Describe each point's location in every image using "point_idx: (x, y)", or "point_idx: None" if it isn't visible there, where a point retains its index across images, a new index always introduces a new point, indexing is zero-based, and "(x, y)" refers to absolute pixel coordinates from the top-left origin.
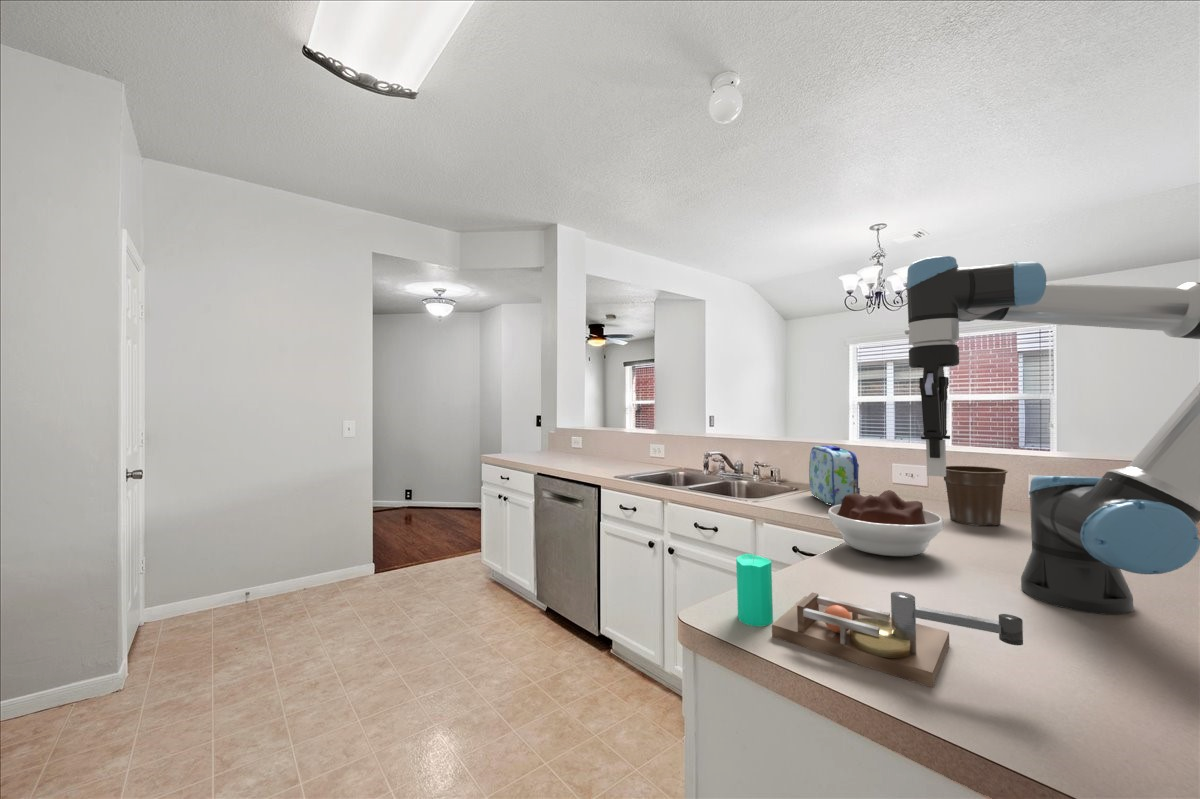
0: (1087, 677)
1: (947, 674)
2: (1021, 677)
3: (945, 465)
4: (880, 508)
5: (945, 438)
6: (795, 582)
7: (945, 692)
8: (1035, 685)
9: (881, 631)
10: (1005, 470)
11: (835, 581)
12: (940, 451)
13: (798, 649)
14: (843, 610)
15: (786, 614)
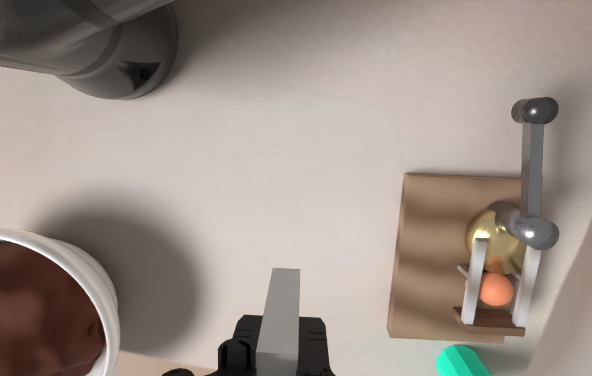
0: (408, 42)
1: (485, 169)
2: (449, 103)
3: (281, 286)
4: (36, 347)
5: (249, 355)
6: None
7: None
8: (461, 91)
9: (510, 240)
10: None
11: None
12: (299, 331)
13: None
14: (506, 288)
15: (465, 338)
